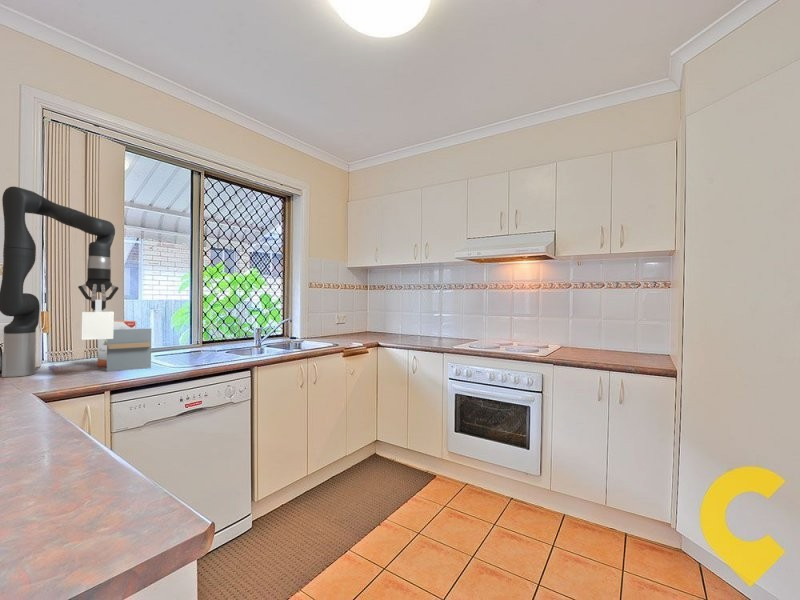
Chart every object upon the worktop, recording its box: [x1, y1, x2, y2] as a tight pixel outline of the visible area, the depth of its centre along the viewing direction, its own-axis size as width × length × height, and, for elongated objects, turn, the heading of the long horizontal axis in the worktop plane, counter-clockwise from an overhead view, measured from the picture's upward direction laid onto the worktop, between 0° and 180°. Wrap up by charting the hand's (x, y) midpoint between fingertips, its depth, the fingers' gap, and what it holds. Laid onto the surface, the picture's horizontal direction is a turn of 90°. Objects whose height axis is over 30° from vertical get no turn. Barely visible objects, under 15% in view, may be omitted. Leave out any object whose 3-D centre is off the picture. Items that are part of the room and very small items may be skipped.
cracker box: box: [97, 320, 137, 368], centre depth 179 cm, size 14×6×21 cm, turn 121°
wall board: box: [106, 328, 152, 373], centre depth 170 cm, size 16×8×18 cm, turn 128°
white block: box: [81, 299, 115, 341], centre depth 156 cm, size 10×7×16 cm
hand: (98, 310), depth 155 cm, fingers closed on white block
